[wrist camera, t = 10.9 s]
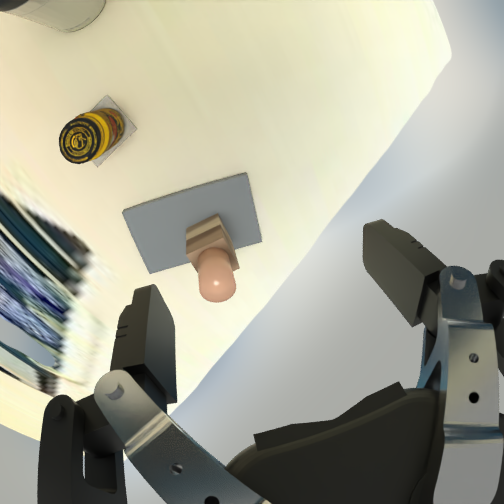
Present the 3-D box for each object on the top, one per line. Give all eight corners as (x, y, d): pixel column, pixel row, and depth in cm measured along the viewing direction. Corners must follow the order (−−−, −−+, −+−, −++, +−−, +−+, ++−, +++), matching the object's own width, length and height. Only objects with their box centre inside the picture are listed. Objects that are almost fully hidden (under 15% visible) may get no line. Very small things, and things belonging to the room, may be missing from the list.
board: (123, 209, 42) (122, 212, 41) (245, 172, 43) (247, 174, 42) (150, 270, 48) (149, 274, 47) (260, 238, 50) (262, 241, 49)
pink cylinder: (192, 252, 38) (194, 279, 33) (224, 243, 38) (230, 268, 33) (203, 278, 40) (206, 306, 35) (233, 269, 40) (239, 296, 35)
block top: (186, 240, 41) (186, 254, 38) (220, 224, 41) (223, 237, 38) (203, 268, 44) (204, 283, 41) (235, 253, 44) (239, 268, 41)
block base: (186, 228, 45) (186, 240, 41) (217, 213, 44) (220, 224, 41) (201, 254, 48) (203, 268, 44) (231, 240, 47) (235, 253, 44)
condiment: (137, 128, 36) (117, 142, 26) (97, 167, 38) (69, 193, 27) (107, 94, 32) (77, 96, 22) (68, 134, 34) (31, 151, 24)
